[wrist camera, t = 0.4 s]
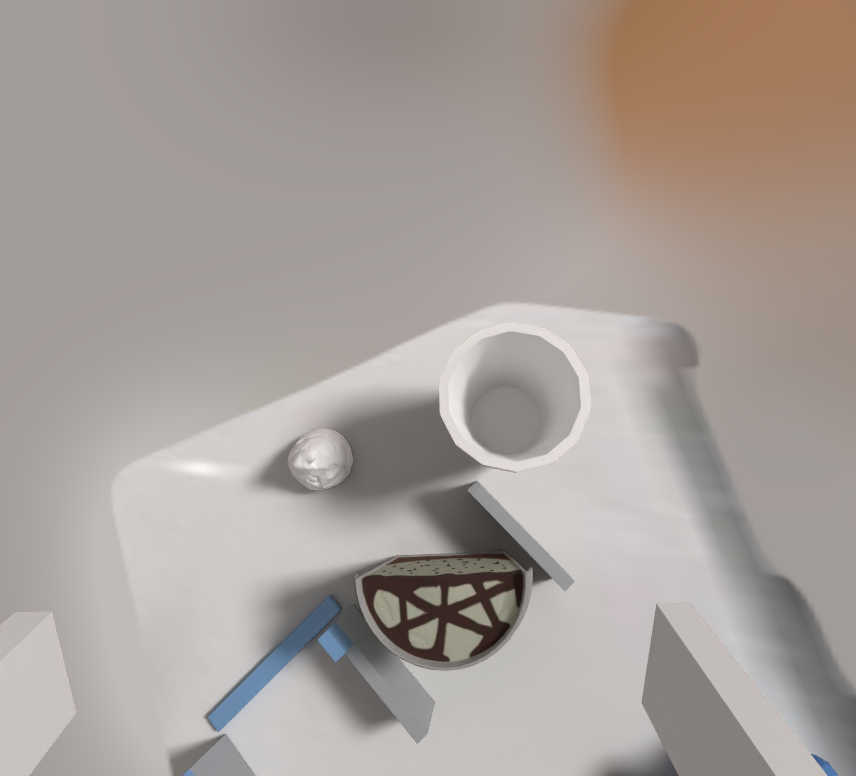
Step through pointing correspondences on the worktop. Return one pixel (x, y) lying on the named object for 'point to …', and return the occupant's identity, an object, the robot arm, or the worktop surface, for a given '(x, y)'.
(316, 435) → the garlic bulb
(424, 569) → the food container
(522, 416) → the foam cup
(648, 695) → the robot arm
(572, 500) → the worktop surface
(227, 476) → the worktop surface
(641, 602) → the worktop surface
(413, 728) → the blue-edged channel bracket
